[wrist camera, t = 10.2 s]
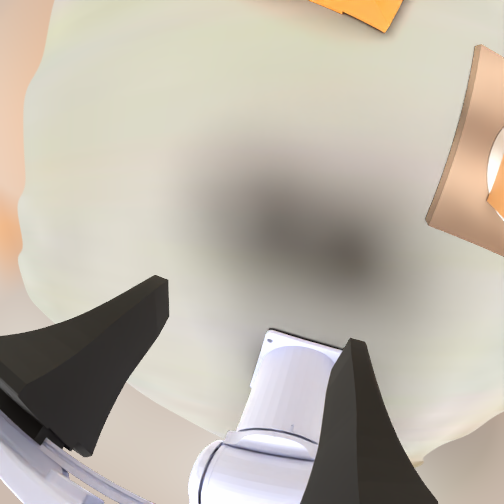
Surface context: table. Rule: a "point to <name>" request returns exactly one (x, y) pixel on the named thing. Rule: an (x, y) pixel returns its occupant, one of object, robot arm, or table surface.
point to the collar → (498, 191)
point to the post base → (475, 159)
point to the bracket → (366, 10)
